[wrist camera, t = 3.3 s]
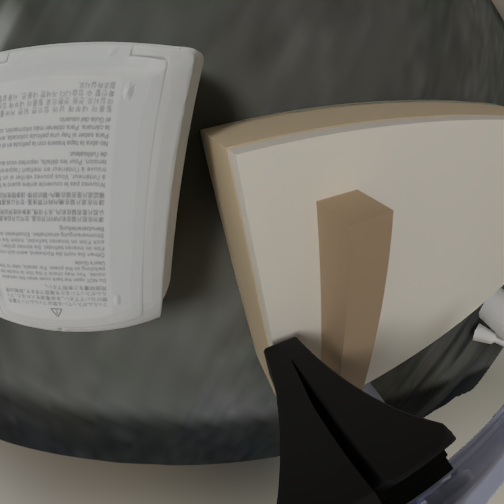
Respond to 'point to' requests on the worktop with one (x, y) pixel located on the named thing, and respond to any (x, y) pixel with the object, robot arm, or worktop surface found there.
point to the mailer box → (286, 125)
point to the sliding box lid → (374, 234)
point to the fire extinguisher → (492, 319)
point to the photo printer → (91, 180)
